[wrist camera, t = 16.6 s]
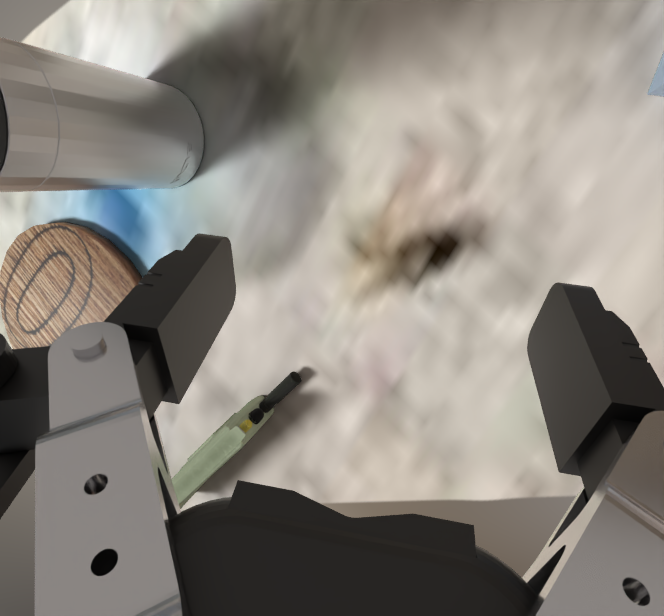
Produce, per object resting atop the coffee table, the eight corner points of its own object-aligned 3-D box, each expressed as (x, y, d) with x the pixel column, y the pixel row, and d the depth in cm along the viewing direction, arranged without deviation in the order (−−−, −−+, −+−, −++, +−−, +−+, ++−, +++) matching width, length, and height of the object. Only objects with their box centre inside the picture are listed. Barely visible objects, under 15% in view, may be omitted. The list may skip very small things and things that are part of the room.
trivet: (205, 346, 46) (194, 352, 44) (106, 449, 57) (94, 458, 55) (61, 174, 47) (44, 173, 45) (-8, 309, 58) (-24, 312, 56)
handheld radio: (173, 473, 53) (290, 357, 42) (191, 492, 53) (313, 381, 42) (133, 512, 47) (256, 389, 36) (154, 533, 47) (283, 417, 36)
